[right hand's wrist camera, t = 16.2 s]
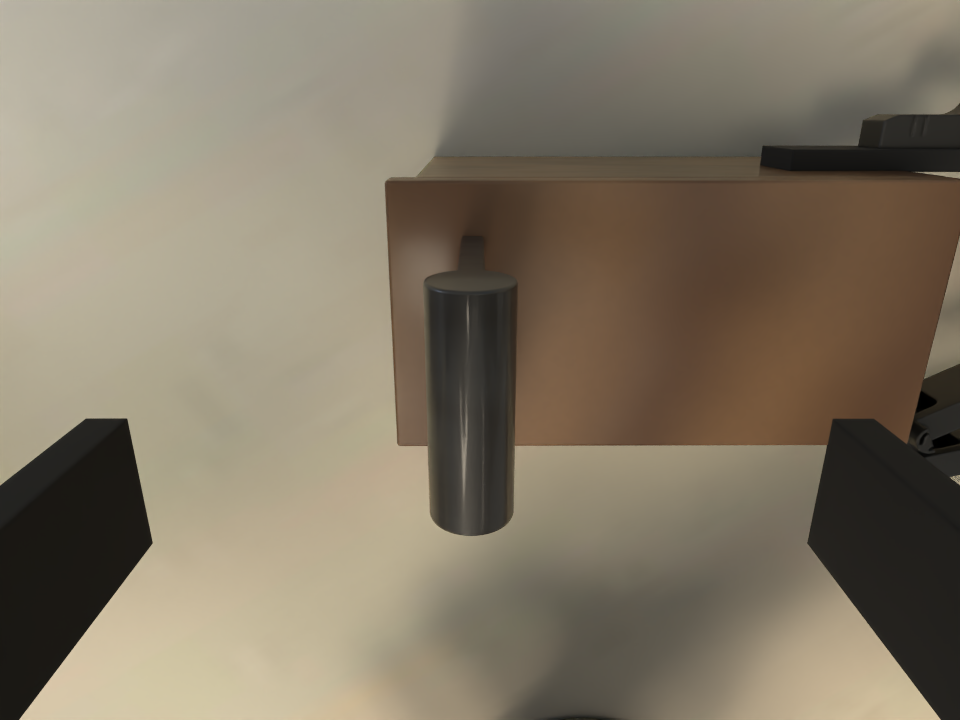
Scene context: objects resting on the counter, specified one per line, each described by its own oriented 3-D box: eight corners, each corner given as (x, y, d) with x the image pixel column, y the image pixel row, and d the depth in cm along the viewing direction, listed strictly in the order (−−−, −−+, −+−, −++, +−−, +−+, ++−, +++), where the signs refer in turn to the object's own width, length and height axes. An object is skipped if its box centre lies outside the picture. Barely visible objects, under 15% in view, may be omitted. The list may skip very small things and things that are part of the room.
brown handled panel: (400, 432, 25) (363, 589, 17) (388, 177, 22) (335, 217, 13) (889, 431, 25) (1090, 587, 17) (950, 176, 22) (1235, 216, 13)
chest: (437, 341, 34) (423, 431, 25) (433, 156, 31) (414, 177, 22) (773, 341, 35) (888, 430, 25) (803, 156, 31) (949, 177, 22)
